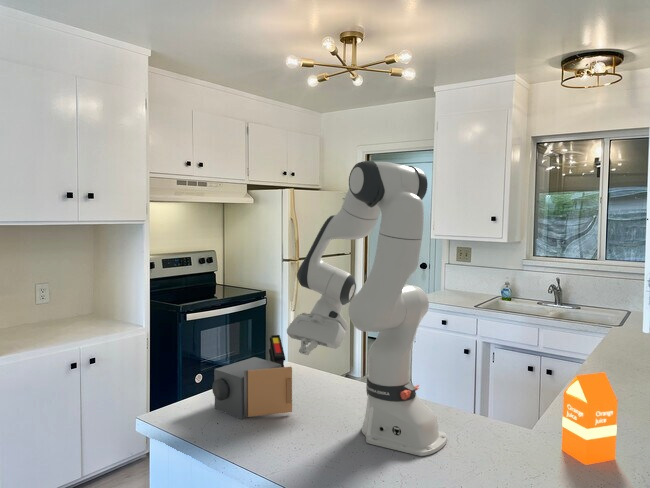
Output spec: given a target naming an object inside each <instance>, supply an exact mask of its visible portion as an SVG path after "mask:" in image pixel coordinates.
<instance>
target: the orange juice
mask: <svg viewBox="0 0 650 488" xmlns="http://www.w3.org/2000/svg"><path fill="white" fill-rule="evenodd" d="M562 407H563V408H562V426H561V427H562V428H561V429H562V432H561V434H562V435H561V451H563V452H564V453H566V454H567V455H569V456H571V457H572V458H573V459H575V460H577V461H578V462H580V463H582V464H583V465H592V464H593V465H594V464H597V463H604V462H609V461H616V445H617V444H616V443H617V433H618V432H617V431H618V430H617V429H618V428H617V427H618V425H617V424H618V423H617V422H618V421H617V420H618V419H617V418H618V399H617V397H616V394H615V392H614V390H613V387H612V385H611V384H610V381H609V378H608V376H607V374H606V372H605V371H603V372H594V373H587V374H578V375H576V376H575V377H574V378H573V379H572V381H571V382H570V384H569V385H568V386H567V388H566V389H565V390H564V391H563V403H562Z"/></svg>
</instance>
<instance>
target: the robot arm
mask: <svg viewBox="0 0 650 488" xmlns="http://www.w3.org/2000/svg"><path fill="white" fill-rule="evenodd" d="M348 187H349V188H348V190H347V192H346V194H345V197H344V200H343V202H342V205H341V208H340V210H339V211H338V213H336V214H334V215H330V216H329V217H328V218H327V219H326V220H325V221H324V222H323V224H322V225H321V227H320V229H319V232H318V233H317V235H316V237H315V239H314V241H313V242H312V244H311V247H310V249H309V251H308V252H307V254H306V255H305V258H304V260H302V262H301V264H300V265H299V267H298V270H297V272H296V278H297V281H298V283H299V284H300V286H301V287H302V288H305V289H308V290H310V291H311V290H312V291H314V292H316V293H318V294H321V296H320V298H319V299H318V300H317V301H316V303H315V304H314V306H313V308H312V309H311V311H310V313H307V312H301V313H300V314H298V315H297V316H295V318H294V319H293V320H292V321H291V323H290V324H289V325H288V327H287V328H286V334H287V335H288V337H290V339H292V340H293V339H294V340H298V341H300V347H299V349H298V353H300V354H302V355H306V356H309V355H310V354H311V352H312V351H313V350H315V349H316V348H317V347H318V346H321V347H322V346H323V347H326V348H330V349H334V350H336V349H338V348H340V347H341V346H342V343H343V342H344V340H345V337H346V334H347V332H346V331H348V329H349V328H350V325H349V324H348V322H347V321H346V319H345V318H344V317H343V315H342V311H343V310H344V309H345V307H346V306H347V305H348V304H349V305H348V316H349V320H350V321H351V323H352V325H353V327H355V329H357V330H358V331H360V332H366V333H367V332H368V333H378V334H377V336H376V339H375V340H374V341H373V343H372V344H371V346H370V347H369V349H368V358H367V360H368V364H367V365H368V369H367V370H368V371H367V373H368V375H367V378H366V388H365V389H366V395H367V400H366V401H367V402H366V407H365V409H366V410H365V414H364V420H363V423H362V426H361V433H362V434H363V435H364V436H365V441H366V443H367V444H370V445H373V446H377V447H381V448H387V449H389V450H390V449H391V450H394V451H398V452H403V453H407V454H411V455H415V456H420V457H424V456H429V455H432V454H435V453H437V452H439V451H440V450H441V449H442V448H443V447H445V446H446V444H447V443H448V434H447V433H446V432H444V431H442V430H440V428H439V422H438V418H437V416H436V413H435V412H434V411H433V410H432V409H430V407H428V406H427V404H425V403H424V402H423V401H422V399H420V397H419V396H417V392H416V391H418V390H419V389H420V384H416V385H414V384H413V381H412V379H411V365H412V363H411V359H412V358H411V357H412V349H413V344H414V340H415V338H416V334H417V331H418V328H419V326H420V323H421V322H422V321H423V318H425V316H426V315H427V312H428V311H429V306H430V302H429V298H428V296H427V293H426V292H425V290H423V289H422V288H421V287H419V286H417V285H412V284H408V283H407V282H408V281H409V279H410V277H412V275H413V274H414V273H415V272H416V270H417V269H418V266H419V261H420V254H421V247H422V241H423V235H424V225H425V223H424V221H425V211H424V207H425V206H424V203H423V199H424V198H425V196H426V194H427V191H428V177H427V175H426V173H425V172H424V171H423V170H422V169H421V168H418V167H415V166H414V165H404V164H399V163H394V162H391V161H372V160H365V161H360V162H357V163H356V164H355V165H353V167H352V169H351V170H350V173H349V176H348ZM380 214H381V217H380ZM379 217H380V224H379V230H378V235H377V236H378V238H377V242H376V243H377V245H376V250H375V255H374V260H373V264H372V266H371V269H370V272H369V274H368V276H367V278H366V280H365V282H364V284H363V285H362V287H361V288H360V290H358V292H357V293H356V290H357V284H356V281H355V278H354V276H353V274H351V273H349V272H348V271H346V270H343V269H341V268H340V267H339V268H338V267H336V266H334V265H332V264H330V263H328V262H326V261H324V259H323V258H322V257H323V255H324V254H325V251H326V249H327V247H328V246H329V243H330V242H331V241H332V240H352V241H353V240H360V239H363V238H365V237H367V236H369V235H370V234H371V233H372V232H373V231H374V229H375V226H376V225H377V222H378V219H379ZM355 293H356V294H355ZM354 294H355V295H354Z"/></svg>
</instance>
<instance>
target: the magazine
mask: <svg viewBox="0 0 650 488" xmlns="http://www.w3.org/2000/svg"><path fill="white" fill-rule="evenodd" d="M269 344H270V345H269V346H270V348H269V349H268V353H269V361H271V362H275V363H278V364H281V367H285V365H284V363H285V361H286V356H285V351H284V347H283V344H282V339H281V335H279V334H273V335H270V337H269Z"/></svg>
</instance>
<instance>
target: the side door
mask: <svg viewBox="0 0 650 488" xmlns="http://www.w3.org/2000/svg"><path fill="white" fill-rule="evenodd" d="M292 412H293V367H292V366H284V367H281V368H269V369H257V370H244V416H248V417H257V416H258V417H260V416H267V415H276V414H286V413H292ZM248 417H247V418H248Z"/></svg>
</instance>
